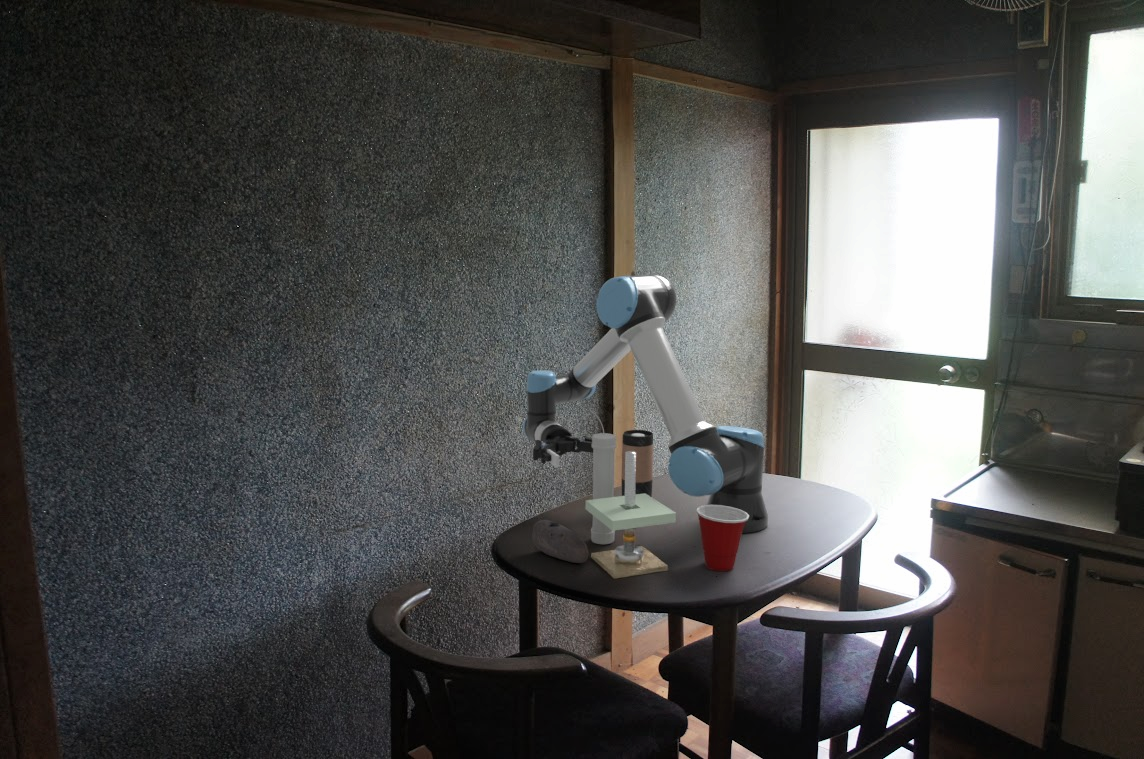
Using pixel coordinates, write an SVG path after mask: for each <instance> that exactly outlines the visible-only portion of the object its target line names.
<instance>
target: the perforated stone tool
mask: <svg viewBox="0 0 1144 759" xmlns="http://www.w3.org/2000/svg"><path fill="white" fill-rule="evenodd" d="M531 536H532V537H531V539H532V540H531V541H532V544H533V545H534V547H535V548H536V549H538V550H539V551H540V552H543V553H544V554H545V555H547V556H550V557H553V558H555V559H556V558H557V559H558V560H562V561H566V562H569V563H575V564H583V563H585V562H586V561H587V560H588V558H589V554H590V553H589V548H588V546H587V544H586V541H585V540H583V538H582V537H581V536H580V535H579V534H577V533H576V532H574V531H573V530H571V529H570V528H568V527H566V526H564V525H562V524H560V523H557V522H554V521H552V520H549V519H539V520H538V521H536V522H535V523H534V524H533V526H532V535H531Z"/></svg>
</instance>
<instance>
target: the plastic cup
mask: <svg viewBox="0 0 1144 759" xmlns="http://www.w3.org/2000/svg"><path fill="white" fill-rule="evenodd" d="M695 512H696V513H697V516H698V521H699V527H700V528H699V529H700V535H701V536H700V537H701V545H702V550H703V551H702V552H703V555H704V556H703V557H704V563H705V566H706V567H707V568H708V569H710V570H712V571H715V572H717V571H718V572H727V571H731V570H733V569H734V567H735V563H736V558H737V554H738V552H739V547H740V543H741V540H742V539H741V538H742V531H743V528H744V525H745V523H746V521H747V520H748V518H749V515H748V514H747V513H746V512H744V511H742V510H740V509H737V508H733V507H729V506H722V505H705V504H703V505H700V506H698V507H697V508H696V509H695Z"/></svg>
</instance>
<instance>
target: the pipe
mask: <svg viewBox="0 0 1144 759" xmlns="http://www.w3.org/2000/svg"><path fill="white" fill-rule="evenodd" d="M588 411H589V412H591V413H592V414H593V415H594V416H595V417H596V418H597V419H598V421H599V423H600V424H601V428H602V432H600V433H595V434H593V435H592V436H591V438H592V448H593V453H592V454H593V455H592V458H593V459H592V468H593V469H592V471H593V472H592V499H601V498H609V497H615V449H616V448H617V437H616V436H617V435H615V434H612V433H607V432H605V429H604V428H605V427H604V426H603V425H604V424H602V421H601V419H600V417H599V416H598V415H597V414H596V413H595V412H594V411H592V410H591V409H588ZM615 534H616V530H614V531H612V530H611V529H610V528H608V527H607V526H606V525H605V524H603V523H602V522H601V521H600V520H598V519H597V518H596V517H595V516H593V515H592V527H591V528H590V539H591V542H592V543H593V544H597V545H609V544H613V543H614V541H615Z"/></svg>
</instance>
